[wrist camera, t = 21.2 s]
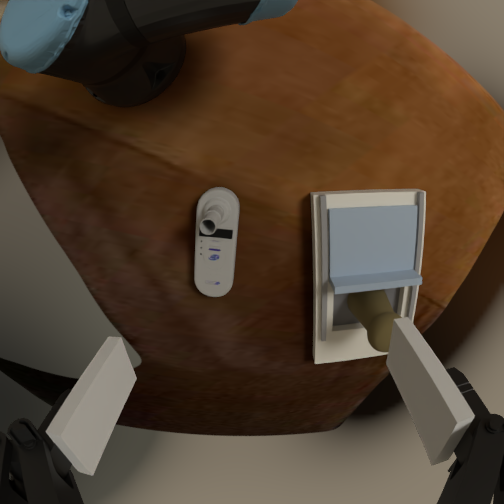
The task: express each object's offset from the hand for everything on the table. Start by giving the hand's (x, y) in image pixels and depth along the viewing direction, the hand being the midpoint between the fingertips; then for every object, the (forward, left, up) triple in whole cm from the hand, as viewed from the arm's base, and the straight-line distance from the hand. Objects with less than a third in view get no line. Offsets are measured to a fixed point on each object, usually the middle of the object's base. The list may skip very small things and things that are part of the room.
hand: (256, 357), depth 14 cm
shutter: (+4, +15, -26) cm, 30 cm away
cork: (+13, +15, -28) cm, 34 cm away
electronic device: (+3, -6, -29) cm, 30 cm away
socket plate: (+10, +15, -29) cm, 34 cm away
